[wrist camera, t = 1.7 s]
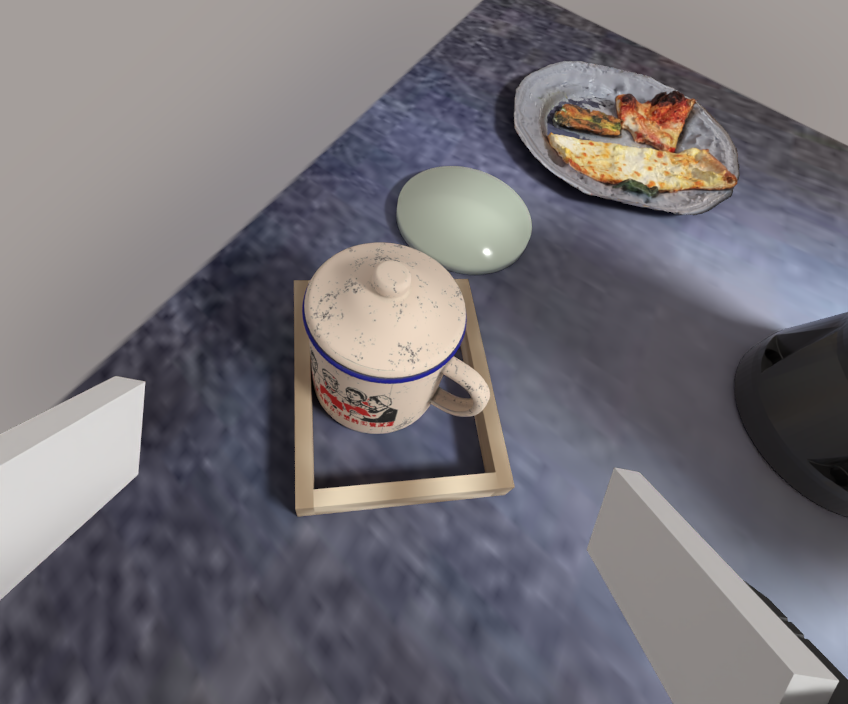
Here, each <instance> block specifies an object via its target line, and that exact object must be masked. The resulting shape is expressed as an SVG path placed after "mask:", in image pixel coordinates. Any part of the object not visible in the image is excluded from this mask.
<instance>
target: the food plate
mask: <svg viewBox="0 0 848 704" xmlns="http://www.w3.org/2000/svg"><path fill="white" fill-rule="evenodd" d="M516 90H517V91H516V94H515V101H514V103H515V104H514V117H515V118H514V123H515V124H514V125H515V129H516V132H517V133H518V135H519V136H520V138H521V140H522V141H523V142H524V143H525V145H526V146H527V148H529V150H530V152H531V153H532V154H534V156H535V158H536V159H538V161H540V162H542V165H545V167H546V168H548V170H550V171H551V172H553V173H554V174H555V175H556V176H558V177H559V178H561V179H563V180H564V181H565V182H567V183H569V184H570V185H572V186H573V187H576V188H577V189H579V190H580V191H582V192H583V193H585V194H587V193H588V195H594V196H598V197H600V198H601V197H602V198H605V199H612V200H615V201H617V202H618V201H620V202H623V204H629V205H634V206H640V207H647V208H649V209H654V210H660V211H661V210H664V211H666V212H673V213H675V214H677V213H678V214H680V215H683V214H686V215H687V214H688V215H691V214H692V215H697V214H702V213H704V212H707V211H709V210H711V209H712V208H713V207H715V206H717V205H718V204H719V203H721V202H723V201H724V200H725V199H728V198H729V197H731V195H732V193H733V188H734V186H735V185H736V184H737V181H738V179H739V171H738V170H739V164H738V154H737V148H735V146H734V144H733V142H732V140H731V138H730V136H729V135H728V133H727V132H726V130H725V129H724V128H723V127H722V126H721V125H720V124H719V123H718V122H717V121H716V120H715V119H714V118H713V117H712V116H711V114H710V113H708V111H707V110H706V109H705V108H704V107H702V106H701V105H700V104H699V103H698V102H696V101H695V99H691V98H689V97H686V96H684V94H682V93H680V92H678V91H677V90H675V89H674V88H672V87H668V86H665V85H663V84H661V83H660V82H657V81H655V80H654V79H653V78H651V77H648V76H647V75H646V76H645V75H644V76H642V75H641V74H636V73H632V72H628V71H625V70H624V71H623V70H619V69H616V68H613V67H612V68H611V67H610V68H608V66H607V67H604V66H600V65H596V64H587V62H586V63H583V62H582V61H576V62H571V61H570V62H565V61H564V62H559V63H556V64H551V65H548V66H547V67H545V68H541V69H540V70H538V71H535V72H533V73H531V74H529V75H527V76H526V77H525V78H524V80H523V81H522V82H521V83H520V84H519V87H518V88H517V89H516ZM580 97H585V99H586V98H592V100H593V101H594V102H598V100H599V101H602V102H603V103H604V104H605V105H606V106H607V107H603V106H601V105H603V104H601V102H599V103H600V104H601V105H599V107H600V108H601V109H599V108H593V107H591V106H590V105H588V104H583V105H584V106H585V107H586V108H588V109H587V110H586V109H582V108H580V107H579V106H577V105H575V106H574V105H573V104H572V105H571V104H565V105H563V104H562V108H561V109H559V110H560V111H558V112H557V111H556V112H555V115H554V117H553V120H552V121H553V122H554V123H553V124H554V126H555V127H556V128H560V129H561V130H565V131H567V132H573V133H576V134H578V135H580V138H583V136H584V137H585V138H586V139H588V138H589V139H590V140H580V139H576V138H573V137H568V136H567V137H566V136H563V135H557V134H555V135H554V134H553V133H552V132H551V133H550V134H549V135H547V115H548V114H549V112H550V110H552V109H553V107H554V106H557V105H558V104H559V102H561V101H566V102H568V100H567V99H572V100H575V101H577V100H578V101H580V100H584V99H583V98H580ZM594 97H598V98H602V99H601V100H600V99H598V98H594ZM604 98H606V99H604ZM595 99H597V100H595ZM605 100H610V101H605ZM586 101H588V100H587V99H586ZM606 102H607V103H606ZM610 104H613V105H610ZM608 105H610V106H608ZM589 106H590V107H589ZM585 107H583V108H585ZM590 109H591V110H590ZM604 109H605V110H604ZM591 140H593V141H591ZM625 145H626V146H625ZM645 147H647V148H645Z"/></svg>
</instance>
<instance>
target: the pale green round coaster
mask: <svg viewBox="0 0 848 704" xmlns="http://www.w3.org/2000/svg"><path fill="white" fill-rule="evenodd" d="M396 220H397V225H398V228H399V231H400V233H401V235H402V237H403V238H404V240H405V241H406V243H407V244H408V245H409V246H410V248H413V249H416V250H418V251H420V252H423V253H424V254H426V255H428V256H430V257H431V258H433V259H434V260H436V261H437V262H438V263H440V264H441V265H442V266H443V267H444V268H445V269H446V270H448V271H452V272H456V273H461V274H471V275H479V274H488V273H493V272H497V271H500V270H502V269H504V268H506V267H508V266H510V265H511V264H513V263H514V262H515V261H516V260H517V259H518V258H519V257H520V256H521V255H522V253H523V251H524V249H525V247H526V245H527V243H528V241H529V239H530V236H531V230H532V223H531V217H530V214H529V211H528V209H527V207H526V205H525V203H524V202H523V200H522V199H521V198H520V197H519V195H518V194H517V193H516V192H515V191H514V190H513V189H511V188H510V187H509V186H508V185H507V184H505V183H504V182H502V181H501V180H499V179H497V178H495V177H494V176H491V175H489V174H487V173H484V172H482V171H479V170H475V169H471V168H466V167H458V166H444V167H436V168H432V169H428V170H425V171H423V172H421V173H419V174H417V175H415V176H414V177H412V178H411V179H410V180H409V181H408V182H407V183H406V184H405V185H404V187H403V188H402V190H401V192H400V195H399V198H398V204H397V211H396Z"/></svg>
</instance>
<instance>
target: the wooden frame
mask: <svg viewBox="0 0 848 704" xmlns="http://www.w3.org/2000/svg"><path fill="white" fill-rule="evenodd" d="M454 280H455V282H456V283H457V285H458V287H459V289H460V291H461V293H462V296H463V299H464V303H465V308H466V316H467V322H466V330H465V335H464V338H463V341H462V343H461V345H460V346H461V351H462V356H463V361H464V363H465V364H467V365H469V366H470V367H471V368H473V369H474V370H475V371H476V372H478V373H479V374H480V375H481V377H482V378H483V379H484V380H485V382H486V383H487V385H488V387H489V390H490V398H489V401H488V403H487V405H486V406H485V408H484V409H483V410H482V411H481V412H480V413H478V414H477V415H474V417H475V422H476V427H477V433H478V438H479V443H480V448H481V453H482V458H483V463H484V468H485V473H483V474H473V475H462V476H452V477H441V478H430V479H420V480H409V481H399V482H388V483H377V484H367V485H356V486H346V487H335V488H324V489H314V454H313V414H312V374H311V354H310V342H309V337H308V335H307V333H306V330H305V326H304V322H303V315H302V305H303V298H304V294H305V291H306V289H307V286H308V284H309V282H310V281H311V280H294V366H295V510H296V513H297V516H308V515H318V514H327V513H337V512H346V511H356V510H365V509H375V508H384V507H394V506H403V505H413V504H422V503H432V502H441V501H451V500H461V499H470V498H480V497H489V496H499V495H505V494H506V493H508V492H509V491H510V490H511V489H513V488H514V482H513V478H512V473H511V469H510V464H509V460H508V455H507V451H506V446H505V442H504V437H503V433H502V428H501V424H500V419H499V415H498V410H497V406H496V401H495V397H494V392H493V388H492V383H491V379H490V374H489V370H488V365H487V361H486V357H485V352H484V348H483V343H482V339H481V334H480V330H479V325H478V321H477V316H476V312H475V307H474V303H473V298H472V294H471V289H470V285H469V280H468V279H454ZM470 397H471V396H470ZM471 398H472V397H471Z"/></svg>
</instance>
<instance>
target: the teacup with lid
mask: <svg viewBox="0 0 848 704" xmlns="http://www.w3.org/2000/svg"><path fill="white" fill-rule="evenodd" d="M302 315H303V322H304V326H305V330H306V333H307V335H308V337H309V342H310V354H311V365H312V377H313V385H314V390H315V393H316V395H317V398H318V400H319V402H320V404H321V405H322V407H323V408H324V409H325V411H326V412H327V413H328V414H329V415H330V416H331V417H332V418H333V419H335V420H336V421H337V422H339V423H340V424H342V425H344V426H346V427H348V428H350V429H353V430H356V431H359V432H364V433H372V434H382V433H389V432H394V431H397V430H400V429H402V428H405V427H407V426H409V425H410V424H412V423H413V422H415V421H416V420H417V419H419V418H420V417H421V416H422V415H423V414H424V412H425V411H426V410H427V409H428V407H429V406H430V404H432V405H434V406H435V407H437V408H439V409H441V410H443V411H445V412H447V413H449V414H452V415H455V416H461V417H469V416H474V415H477V414H478V413H480V412H481V411H482V410H483V409H484V408H485V406H486V405H487V403H488V401H489V398H490V390H489V387H488V385H487V383H486V382H485V380H484V379H483V378H482V377H481V375H480V374H479V373H478V372H476V371H475V370H474V369H473V368H471V367H470V366H469V365H467V364H465V363H464V362H462V361H461V360H459V359H457V358H456V357H454V355H455V353H456V352H457V350H458V349H459V347H460V345H461V343H462V341H463V338H464V335H465V330H466V322H467V316H466V308H465V303H464V299H463V296H462V293H461V291H460V289H459V287H458V285H457V283H456V282H455V280H454V279H453V277H452V276H451V275H450V273H449V272H448V271H447V270H446V269H445V268H444V267H443V266H442V265H441V264H440V263H438V262H437V261H436V260H434V259H433V258H431V257H430V256H428V255H426V254H424V253H423V252H420V251H418V250H416V249H413V248H410V247H407V246H403V245H399V244H393V243H367V244H361V245H357V246H353V247H350V248H348V249H345V250H343V251H341V252H339V253H337V254H335V255H334V256H332V257H331V258H330V259H328V260H327V261H326V262H325V263H324V264H323V265H322V266H321V267H320V268H319V269H318V270H317V271H316V273H315V274H314V275H313V277H312V279H311V281H310V282H309V284H308V286H307V289H306V291H305V294H304V298H303V305H302ZM443 374H444V375H445V376H447V377H449V378H450V379H452V380H453V381H455V382H456V383H458V384H459V385H461V386H462V387H463V388H464V389H465V390H466V391H467V392H468V393H469V394H470V396H471V397H472V398H469V399H466V398H460V397H457V396H455V395H452V394H450V393H449V392H447V391H445V390H443V389H442V388H440V387H439V384H440V381H441V379H442V377H443Z"/></svg>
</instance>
